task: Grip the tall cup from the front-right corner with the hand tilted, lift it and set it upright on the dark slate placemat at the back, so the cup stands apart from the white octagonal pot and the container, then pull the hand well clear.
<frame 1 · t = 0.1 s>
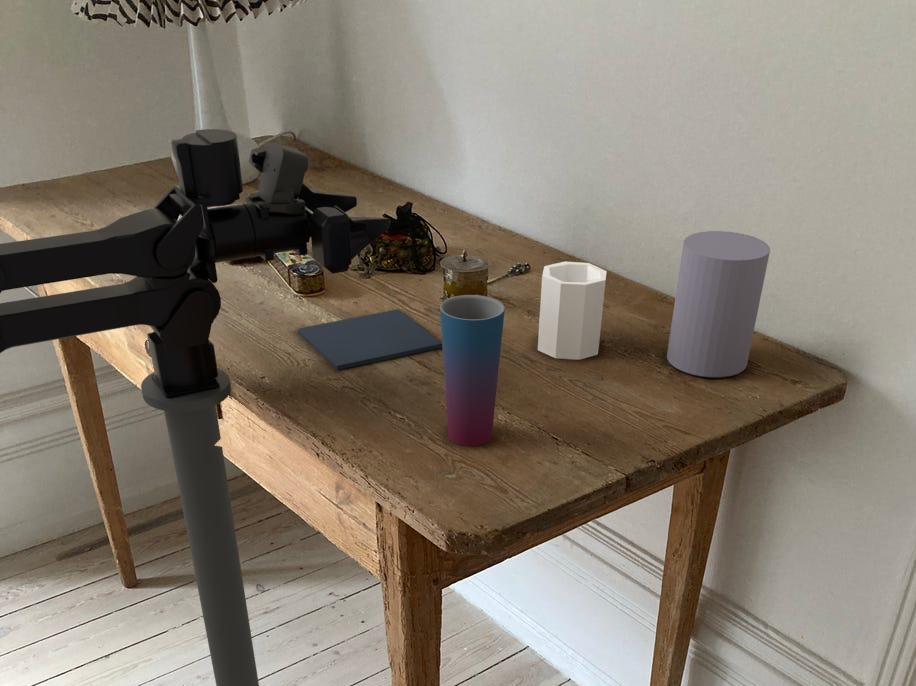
hand: (372, 211, 122), 18 cm above the table, tool horizontal, fingers open, 9 cm apart
container: (706, 363, 134), on the table
placemat: (369, 340, 137), on the table
white octagonal pot: (563, 342, 138), on the table
cup: (469, 437, 117), on the table
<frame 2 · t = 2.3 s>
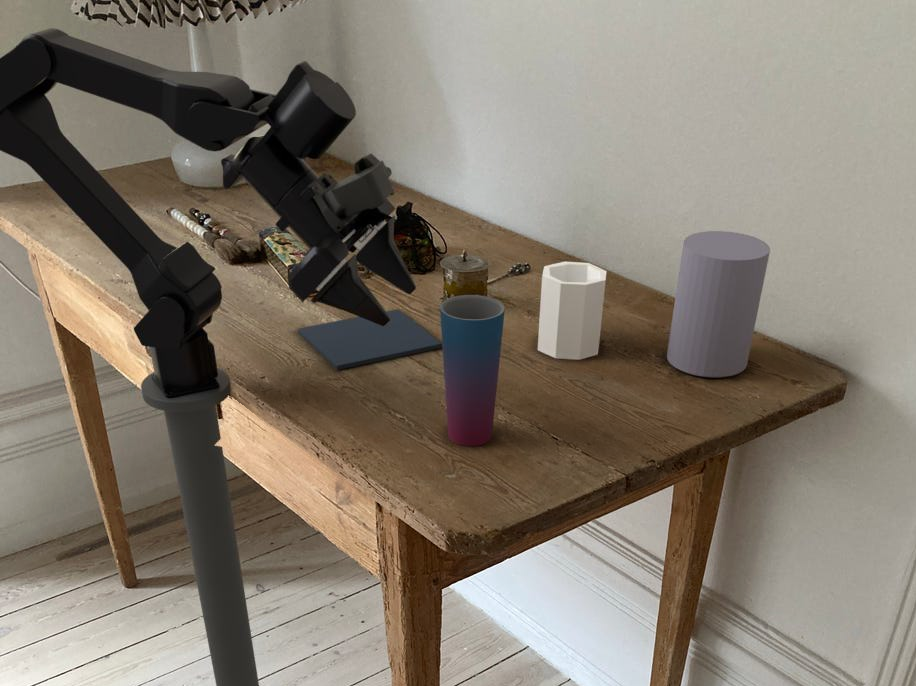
hand: (400, 306, 110), 14 cm above the table, tool tilted 45°, fingers open, 9 cm apart
nothing on the table moved.
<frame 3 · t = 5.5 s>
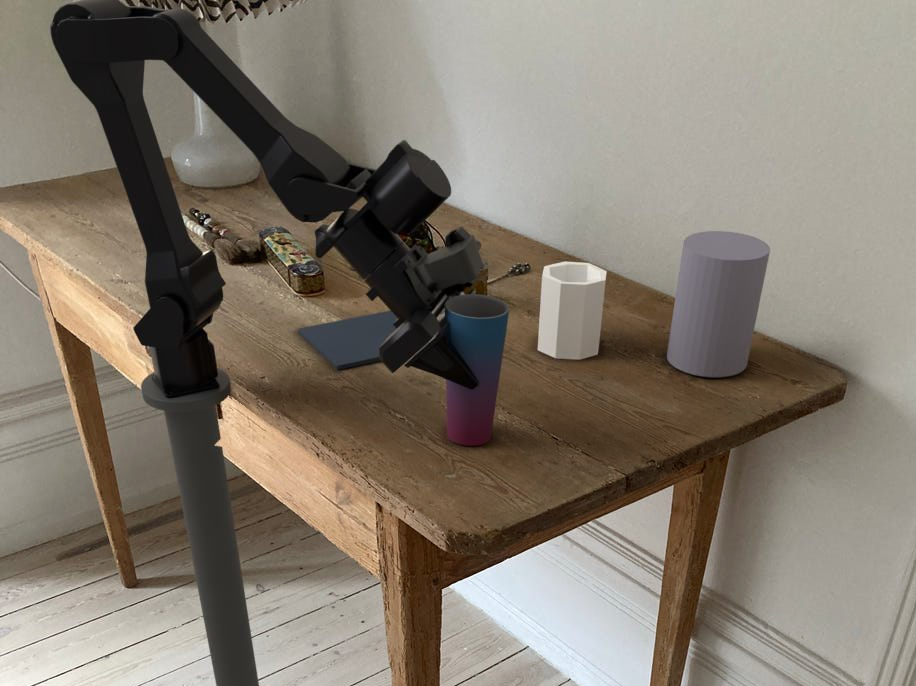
hand: (483, 374, 112), 8 cm above the table, tool tilted 45°, fingers closed on cup, 6 cm apart
cup: (468, 437, 117), on the table, touching gripper
everything else where it was.
when the fingers open (8 cm above the table, at t = 13.2 s): cup stays where it is, resting on placemat.
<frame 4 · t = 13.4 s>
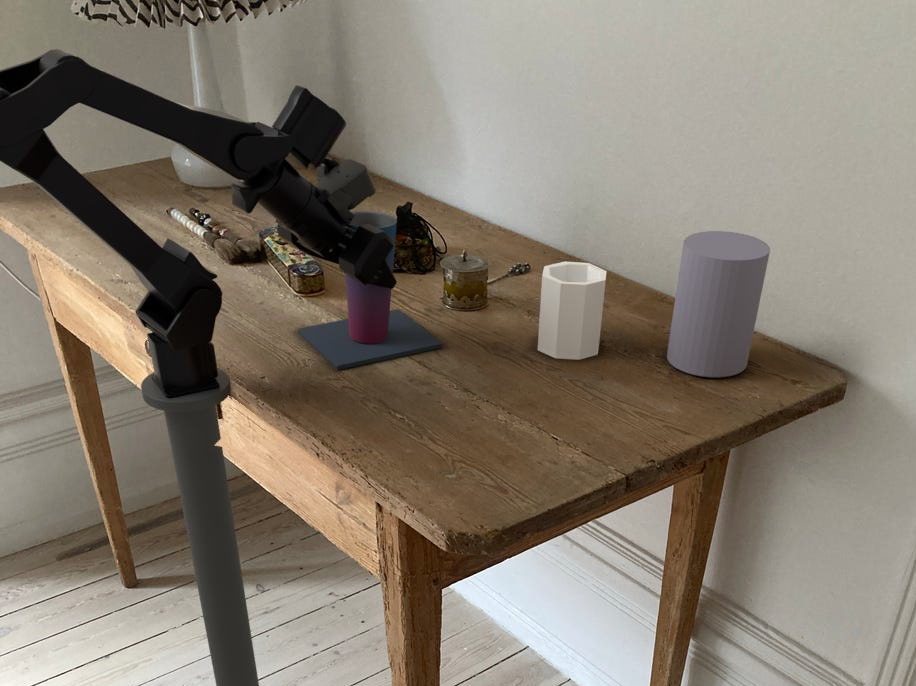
hand: (375, 275, 132), 8 cm above the table, tool tilted 45°, fingers open, 8 cm apart
cup: (368, 337, 136), point 1 cm above the table, touching gripper, placemat
everything else where it was.
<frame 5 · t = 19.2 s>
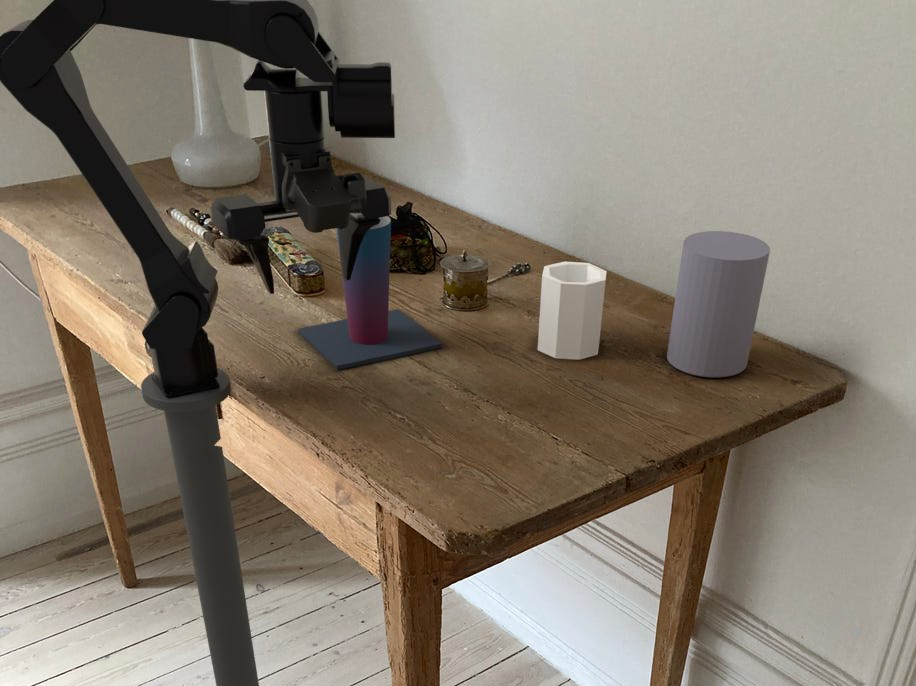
hand: (309, 285, 116), 13 cm above the table, tool pointing down, fingers open, 9 cm apart
cup: (368, 338, 136), resting on placemat
everything else where it was.
at the end: cup inside the target area on the placemat (0.4 cm from its centre), point 0.4 cm above the placemat's base; cup tilted 0°; the gripper is holding nothing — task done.
